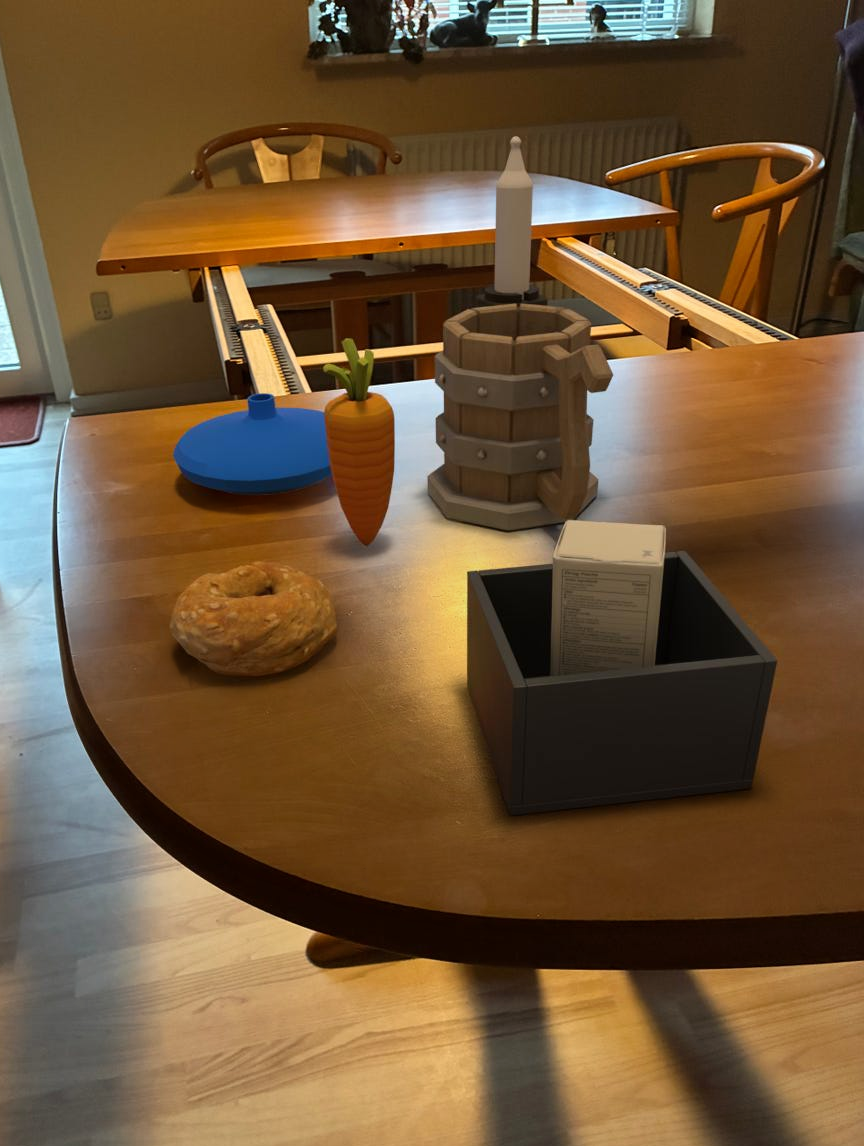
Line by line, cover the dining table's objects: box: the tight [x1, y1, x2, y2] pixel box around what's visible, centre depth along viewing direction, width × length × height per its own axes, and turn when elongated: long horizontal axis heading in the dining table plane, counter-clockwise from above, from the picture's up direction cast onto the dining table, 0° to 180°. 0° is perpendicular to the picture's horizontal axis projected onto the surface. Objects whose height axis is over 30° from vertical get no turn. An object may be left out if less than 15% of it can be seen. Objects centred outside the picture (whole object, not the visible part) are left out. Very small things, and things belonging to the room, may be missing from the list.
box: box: [550, 519, 667, 677], centre depth 49 cm, size 5×4×11 cm
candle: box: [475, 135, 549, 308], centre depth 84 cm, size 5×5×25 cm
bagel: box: [169, 560, 338, 677], centre depth 61 cm, size 10×11×5 cm
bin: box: [466, 550, 778, 816], centre depth 51 cm, size 12×11×8 cm
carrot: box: [322, 338, 396, 547], centre depth 69 cm, size 5×5×15 cm
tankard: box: [426, 304, 614, 532], centre depth 73 cm, size 20×13×15 cm, turn 14°
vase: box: [172, 392, 333, 496], centre depth 83 cm, size 16×16×7 cm
